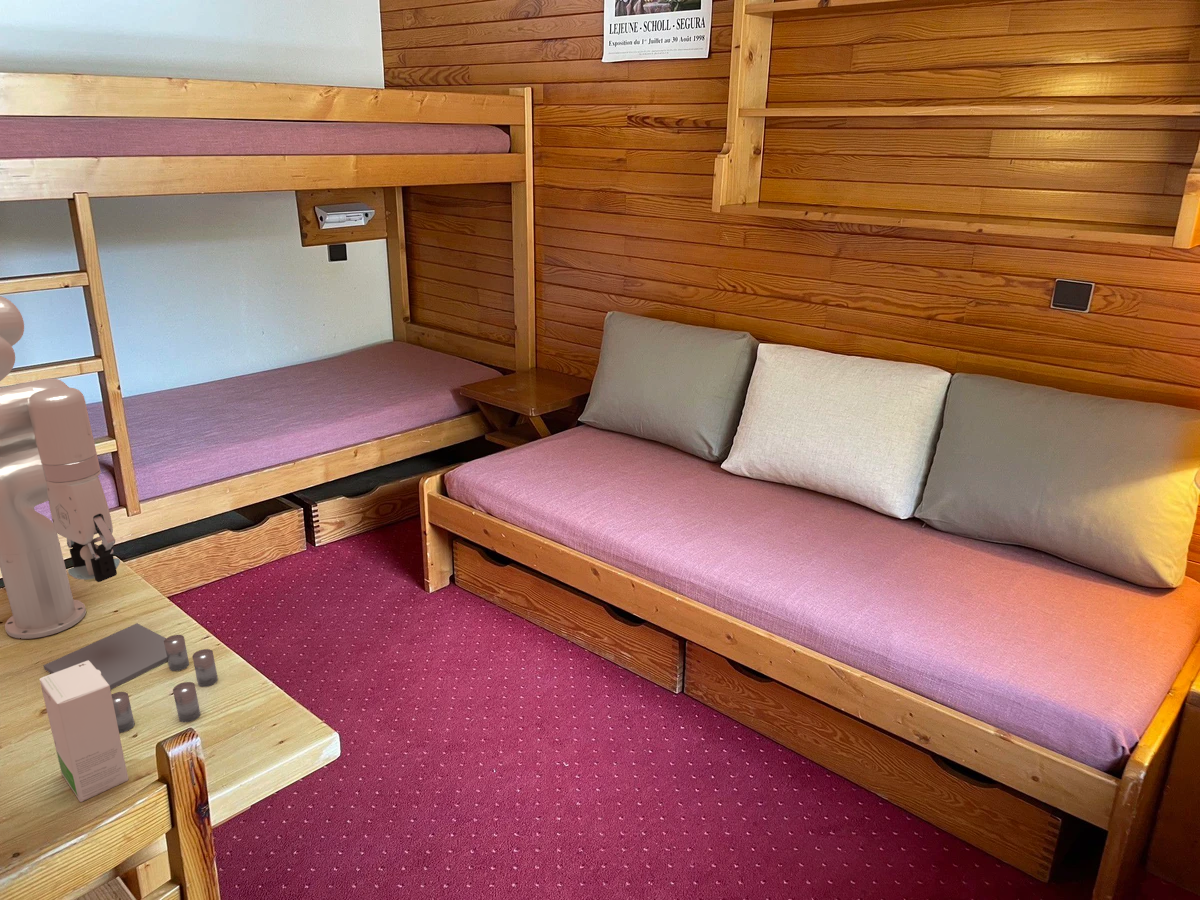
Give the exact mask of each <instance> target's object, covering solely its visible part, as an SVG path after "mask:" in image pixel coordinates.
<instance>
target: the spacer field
mask: <svg viewBox="0 0 1200 900" xmlns="http://www.w3.org/2000/svg"><path fill="white" fill-rule="evenodd" d="M165 638H166V639H165V640H164V645H165V649H166V654H167V659H168V661H167V663H168V668H169V670H170V671H172V672H179V671H180V672H181V671H183V670H185V669H187V668H189V666H190V659H189V657H188V650H187V646H186V640H185V636H184V635H182V634H174V635H171V636H167V637H165ZM191 657H192V660H193V666H194V672H195V676H196V677H195V678H196V681H197V686H199V687H201V688H202V687H204V688H205V687H206V688H207V687H210V686H213V685H215V684H216V683H217V682H218V681H219V676H218V674H217V673H218V672H217V666H216V661H215V657H214V652H213V650H212V649H209V648H205V649H204V648H203V649H200V650H197V651H196V652H194V653H193V654H192V656H191ZM172 693H173V697H174V703H175V706H176V710H177V711H176V712H177V717H178V720H179V722H181V723H190V722H193V721H195V720H197V719H199V717H200V716H201V709H200V705H199V699H198V693H197V690H196V684H195V683H194V682H191V681H184V682H181V683H178V684H177V685H175V686H174V687H173V689H172ZM111 695H112V700H113V705H114V710H115V715H116V720H117V725H118V730H119V734H122V733H126V732H128V731H130V730H131V729H132V728H134V726H135V718H134V714H133V711H132V705H131V702H130V697H129V693H128V692H127V691H126V692H125V691H119V692H115V693H111Z"/></svg>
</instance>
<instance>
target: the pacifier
mask: <svg viewBox="0 0 1200 900" xmlns="http://www.w3.org/2000/svg"><path fill="white" fill-rule="evenodd" d="M94 544H95V546H96V549H97V548H98V546H99V545H98V544H97V543H94ZM80 555H81V557H82V559H83V560H85V563H86V566H81V567H71V568H69V569H68V570H67V574H68V576H71V577H72V578H74V579H76V580H83V581H84V582H87V583H92V582H97V581H96V580H95V577H94V572H93V568H92V564H91V559H92V558H93V557H92V554H91V552H90V549H89V547H88V544H87V545H85V546H84V547H82V549H81V551H80ZM114 562H115V567H116V570H117V569H118V567H119V565H120V564H121V563H120V562H121V561H120V559H119V558H114Z"/></svg>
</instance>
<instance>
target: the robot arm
mask: <svg viewBox="0 0 1200 900" xmlns="http://www.w3.org/2000/svg"><path fill="white" fill-rule="evenodd" d="M24 332H25V321H24V317H23V315H22V313H21V311H20V310H19V308H18V307H17V306H16V305H15V304H14V303H13V302H12V301H11V300H9V299H7V298H6V297H4V296H1V295H0V382H1V381H2V380H4V379H5V378H7V376H8V375H9V374H10V372H11V371H12V369H13V368H14V366H15V363H16V353H15V350H14V348H13V346H15V345H16V344H17V343H18V342H19V341H20V340H21V339H22V337H23V336H24ZM87 407H88V406H87V403H86V400H85V396H84V394H83V393H82V391H80V390H79V389H77V388H75V387H69V385H68V384H66V383H65V382H64V381H62V380H61V379H58V378H54V377H53V378H52V377H51V378H50V377H49V378H42V379H41V378H40V379H36V380H34V381H28V382H22V383H18V384H12V385H8V386H3V387H0V573H1V576H2V580H3V585H4V588H5V591H6V595H7V598H8V602H9V606H10V609H11V614H12V615H11V616H10V617H9V618H8V619H7V620H6V622H5V623H4V624H5V625H4V628H5V632H6V634H7V635H8V636H10V637H12V638H16V639H20V638H21V639H23V640H25V639H26V640H28V639H29V640H30V639H38V638H43V637H48V636H52V635H54V634H57V633H61V632H63V631H66V630H67V629H69V628H72V627H73V626H75V625H77V623H79V622H80V621H81V620H83V618H84V617H85V615H86V613H87V609H86V605H85V603H83V602H82V601H81V600H78V599H74V598H73V593H72V588H71V585H70V581H69V575H68V571H67V568H66V564H65V560H64V559H65V558H64V556H63V551H62V547H61V544H60V541H59V536H60V537H64V538H66V545H67V547H68V548H69V552H70V558H71V563H72V565H73V567H72V568H74V567H81V566H86V563H85V560H83V559H82V557H81V555H80V551H81V549H82V547H84V546H85V545H87V544H88V547H89V549H90V552H91V554H92V557H93V558H92V559H91V564H92V568H93V572H94V577H95V580H96V581H95V582H97V583H102V582H104V581H106V580H108V579H111V578H113V577H115V576H117V574H118V572H117V569H116V567H115V562H114V559H115V557H114V546H115V543H116V539H115V537H114V535H113V531H114V527H113V522H112V521H113V520H112V517H111V513H110V508H109V505H108V501H107V499H106V494H105V492H104V489H103V486H102V482H101V480H100V477H99V476H100V475H101V473H102V471H101V467H100V462H99V458H98V453H97V449H96V444H95V440H94V434H93V431H92V426H91V423H90V418H89V417H90V416H89V413H88V408H87ZM46 502H48V504H49V509H50V511H49V512H50V516H51V519H49V517H47V516H46V515H44V514H42V513H40V512H38V511H37V510H35V507H37V506H39V505H41V504H44V503H46ZM97 534H98V536H97V537H95V538H94V536H95V535H97ZM58 535H59V536H58ZM98 542H101V544H99V545H98V548H97V549H96V546H95V544H96V543H98Z"/></svg>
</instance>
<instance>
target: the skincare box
mask: <svg viewBox="0 0 1200 900" xmlns="http://www.w3.org/2000/svg"><path fill="white" fill-rule="evenodd" d="M38 680H39V683H40V686H41V692H42V696H43V701H44V704H45V710H46V713H47V718H48V722H49V726H50V730H51V734H52V739H53V742H54V747H55V751H56V756H57V760H58V763H59V768H60V774H61V775H62V777H63V778H64V780H65V782H66V783H67V784H68V786H69V787H70V789H71V791H73V794H75V796H76V798H77V799H78V802H80V803H82V802H84V801H87V800H88V799H91V798H93V797H95V796H97V795H99V794H102V793H103V792H106V791H108V790H110V789H113V788H115V787H117V786H119V785H121V784H123V783H126V782H127V781H129V775H128V770H127V765H126V761H125V757H124V755H125V754H124V750H123V746H122V745H123V744H122V740H121V736H120V733H119V730H118V725H117V720H116V715H115V710H114V705H113V700H112V695H111V694H112V689H111V690H110V685H109V684H108V683H107V682H106V680H105V679H104V678H103V676H102V675H101V671H100V670H97V669H96V668H95V667H94V666H93V665H92V663H91V662H90V661H89V660H88V661H85V662H82V663H80V664H77V665H74V666H72V667H69V668H66V669H64V670H61V671H58V672H55V673H53V674H50V673H49V674H48V675H44V676H42V677H41V678H39V679H38Z"/></svg>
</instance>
